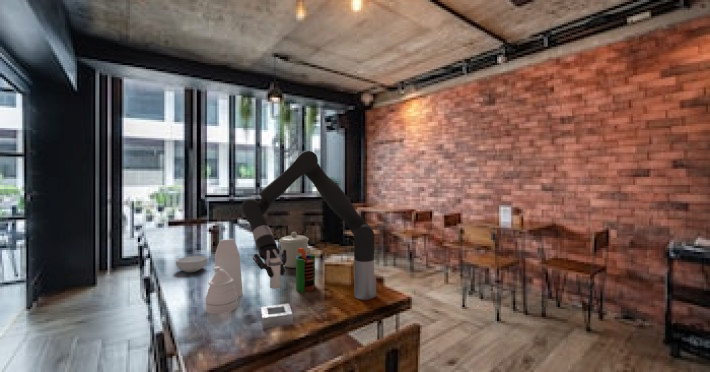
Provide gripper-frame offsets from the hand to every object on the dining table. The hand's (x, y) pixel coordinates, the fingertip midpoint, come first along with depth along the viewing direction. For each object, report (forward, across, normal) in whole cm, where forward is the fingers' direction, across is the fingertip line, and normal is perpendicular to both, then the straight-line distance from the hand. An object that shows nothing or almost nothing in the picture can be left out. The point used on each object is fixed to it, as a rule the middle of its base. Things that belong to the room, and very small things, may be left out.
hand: (277, 275), depth 133 cm
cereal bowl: (-56, -9, +83) cm, 100 cm away
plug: (+2, 0, +5) cm, 5 cm away
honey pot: (-7, -13, +33) cm, 36 cm away
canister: (-35, +43, +61) cm, 83 cm away
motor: (-6, +27, +32) cm, 42 cm away
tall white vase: (-18, -5, +45) cm, 49 cm away
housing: (+12, 0, +14) cm, 18 cm away
